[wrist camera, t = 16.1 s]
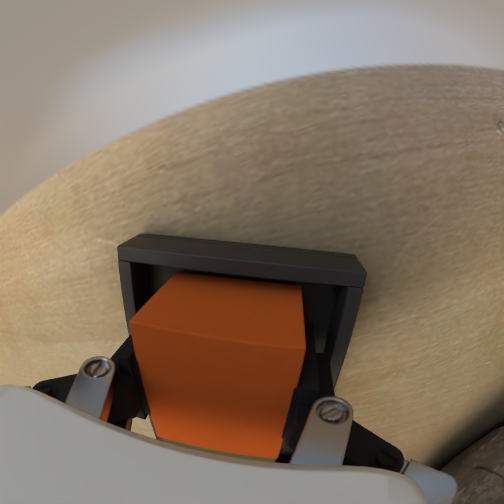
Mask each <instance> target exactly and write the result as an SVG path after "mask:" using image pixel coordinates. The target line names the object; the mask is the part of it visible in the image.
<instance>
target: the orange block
mask: <svg viewBox="0 0 504 504" xmlns="http://www.w3.org/2000/svg"><path fill="white" fill-rule="evenodd" d="M129 324H130V329H131V335H132V340H133V345H134V350H135V355H136V360H137V361H138V365H139V369H140V374H141V378H142V382H143V386H144V390H145V394H146V398H147V401H148V405H149V408H150V412H151V418H152V421H153V424H154V427H155V430H156V433H157V436H158V437H161V438H165V439H168V440H172V441H176V442H180V443H184V444H188V445H192V446H197V447H201V448H206V449H211V450H216V451H222V452H227V453H234V454H240V455H248V456H256V457H265V458H278V456H279V452H280V449H281V446H282V442H283V438H281V437H282V433H283V430H284V426H285V422H286V418H287V414H288V410H289V406H290V402H291V398H292V394H293V390H294V388H297V386H298V382H299V378H300V374H301V369H302V365H303V361H304V356H305V352H306V339H305V325H304V312H303V300H302V288H301V286H300V285H290V284H280V283H270V282H261V281H252V280H243V279H234V278H225V277H217V276H208V275H200V274H192V273H184V272H176V273H175V274H174V275H173V276H172V277H171V278H170V279H169V280H168V281H167V282H166V283H165V284H164V285H163V286H162V287H161V288H160V289H159V290H158V291H157V292H156V293H155V294H154V295H153V296H152V297H151V298H150V299H149V301H148V302H147V303H146V304H145V305H144V306H143V307H142V308H141V309H140V310H139V311H138V312H137V313H136V314H135V315H134V316H133V317H132V319H131V320H130V321H129Z"/></svg>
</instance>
